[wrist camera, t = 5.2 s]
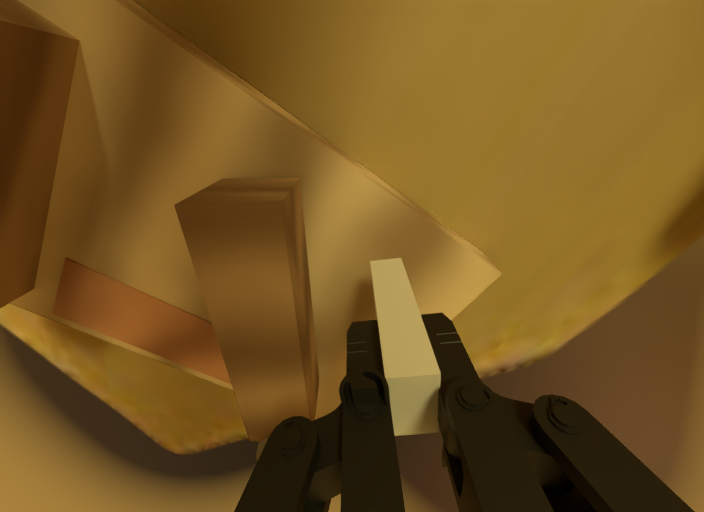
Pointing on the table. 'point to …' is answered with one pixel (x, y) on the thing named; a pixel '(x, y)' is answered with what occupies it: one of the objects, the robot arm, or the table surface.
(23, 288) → the wooden board with block
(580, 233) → the table surface
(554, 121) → the table surface
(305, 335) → the hinged leg
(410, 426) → the robot arm
